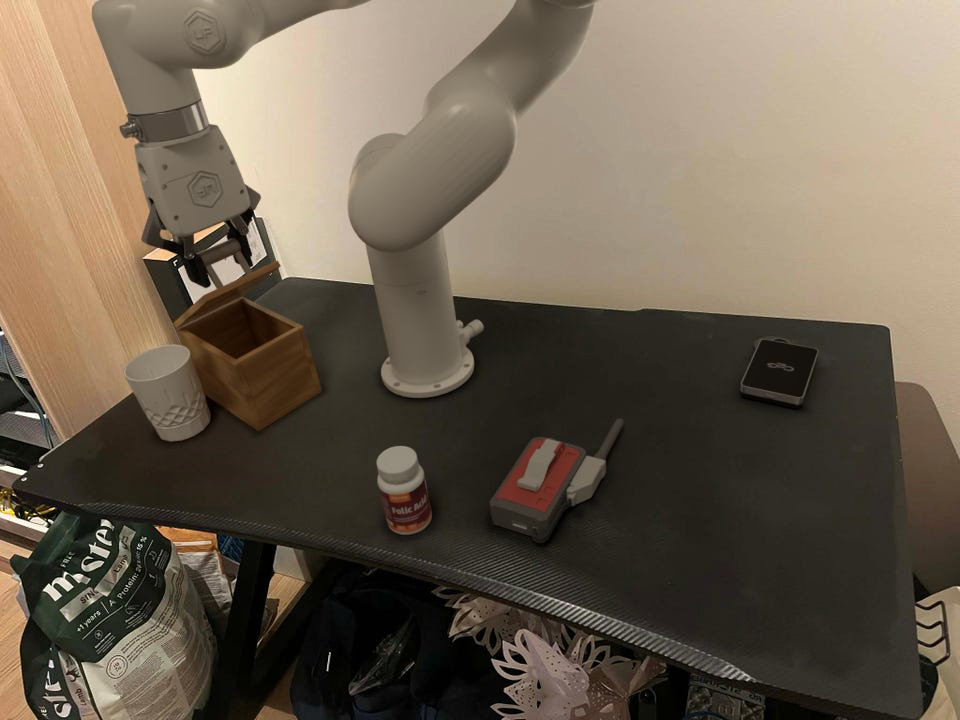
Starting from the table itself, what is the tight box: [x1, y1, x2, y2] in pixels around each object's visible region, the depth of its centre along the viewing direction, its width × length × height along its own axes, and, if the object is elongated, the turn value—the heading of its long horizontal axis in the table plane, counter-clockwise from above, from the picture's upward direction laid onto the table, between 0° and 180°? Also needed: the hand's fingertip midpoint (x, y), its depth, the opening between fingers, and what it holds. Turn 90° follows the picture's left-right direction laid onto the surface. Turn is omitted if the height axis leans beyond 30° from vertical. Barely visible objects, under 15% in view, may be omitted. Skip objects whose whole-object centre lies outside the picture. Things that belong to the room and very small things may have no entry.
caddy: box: [175, 296, 323, 432], centre depth 94 cm, size 15×10×10 cm
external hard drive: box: [739, 338, 820, 409], centre depth 86 cm, size 7×11×2 cm, turn 150°
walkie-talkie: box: [488, 418, 625, 544], centre depth 75 cm, size 9×4×20 cm
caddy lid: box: [172, 238, 281, 330], centre depth 89 cm, size 15×10×6 cm
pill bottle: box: [375, 445, 433, 536], centre depth 72 cm, size 5×5×8 cm
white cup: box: [123, 343, 212, 443], centre depth 90 cm, size 8×8×10 cm
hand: (223, 273), depth 86 cm, fingers closed on caddy lid, 5 cm apart
